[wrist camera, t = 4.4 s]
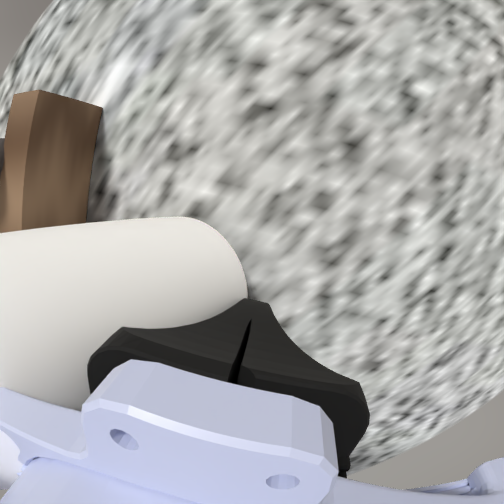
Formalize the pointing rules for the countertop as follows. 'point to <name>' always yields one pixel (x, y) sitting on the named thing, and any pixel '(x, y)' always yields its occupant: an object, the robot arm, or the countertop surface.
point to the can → (100, 299)
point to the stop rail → (46, 161)
